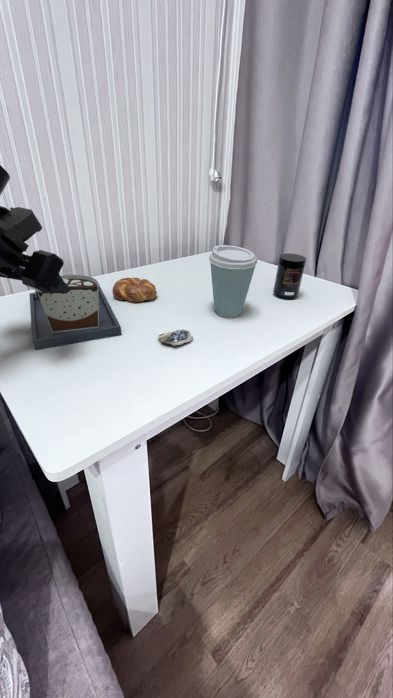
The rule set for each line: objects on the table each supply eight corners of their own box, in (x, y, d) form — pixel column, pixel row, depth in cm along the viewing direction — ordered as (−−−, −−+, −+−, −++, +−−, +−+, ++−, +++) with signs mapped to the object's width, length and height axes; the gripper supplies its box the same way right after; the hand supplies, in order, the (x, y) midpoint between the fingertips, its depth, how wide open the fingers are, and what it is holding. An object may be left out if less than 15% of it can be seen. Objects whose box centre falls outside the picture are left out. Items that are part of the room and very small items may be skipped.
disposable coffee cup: (250, 305, 84) (258, 245, 76) (249, 325, 75) (259, 259, 67) (208, 301, 85) (212, 241, 77) (203, 320, 76) (207, 255, 68)
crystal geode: (152, 342, 67) (151, 334, 66) (171, 326, 73) (171, 318, 72) (181, 351, 64) (181, 343, 63) (199, 333, 70) (199, 326, 69)
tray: (34, 350, 63) (32, 341, 62) (31, 300, 81) (29, 293, 80) (121, 334, 69) (120, 326, 68) (100, 292, 87) (99, 285, 86)
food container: (103, 314, 75) (98, 271, 70) (106, 326, 70) (101, 282, 65) (45, 320, 72) (35, 276, 66) (44, 334, 67) (32, 287, 62)
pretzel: (166, 294, 87) (166, 280, 85) (140, 308, 80) (139, 294, 78) (132, 283, 93) (131, 270, 91) (103, 296, 85) (102, 282, 83)
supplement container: (292, 290, 93) (300, 253, 88) (301, 300, 88) (310, 261, 82) (269, 290, 92) (275, 253, 87) (277, 300, 87) (284, 261, 81)
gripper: (40, 198, 46) (105, 258, 60) (-35, 185, 54) (38, 240, 68) (2, 268, 45) (78, 312, 59) (-70, 244, 52) (12, 288, 66)
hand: (50, 285), depth 63 cm, fingers open, 9 cm apart
